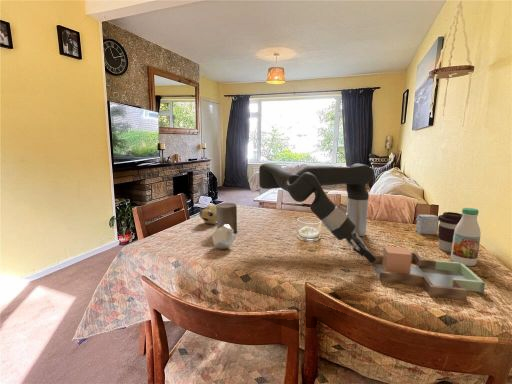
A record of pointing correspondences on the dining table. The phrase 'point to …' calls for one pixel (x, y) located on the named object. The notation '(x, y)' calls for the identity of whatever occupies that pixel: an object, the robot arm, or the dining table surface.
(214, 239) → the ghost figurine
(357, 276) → the dining table surface
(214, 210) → the toy pig
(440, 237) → the coffee cup
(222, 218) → the pillar candle
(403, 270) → the terracotta block
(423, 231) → the medicine box
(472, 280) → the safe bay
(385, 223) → the dining table surface
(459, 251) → the milk bottle
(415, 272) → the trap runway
